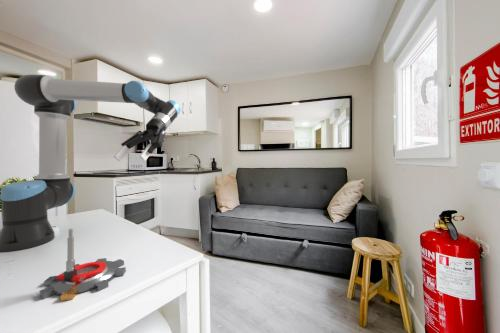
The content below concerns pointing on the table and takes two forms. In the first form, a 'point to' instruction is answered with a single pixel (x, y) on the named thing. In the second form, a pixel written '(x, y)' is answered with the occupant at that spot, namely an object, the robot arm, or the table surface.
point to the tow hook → (71, 270)
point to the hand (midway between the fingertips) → (129, 158)
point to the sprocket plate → (94, 282)
